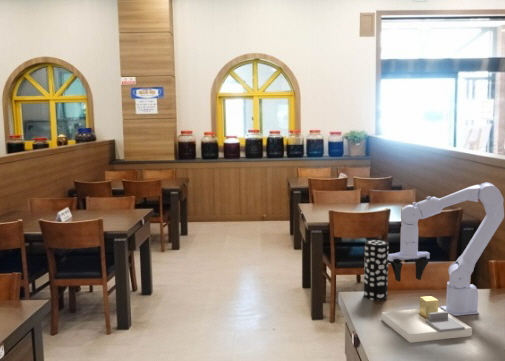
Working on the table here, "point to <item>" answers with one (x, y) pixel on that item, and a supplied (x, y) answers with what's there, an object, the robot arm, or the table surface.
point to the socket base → (420, 326)
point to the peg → (428, 306)
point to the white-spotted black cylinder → (376, 269)
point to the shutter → (443, 322)
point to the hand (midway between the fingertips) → (408, 279)
